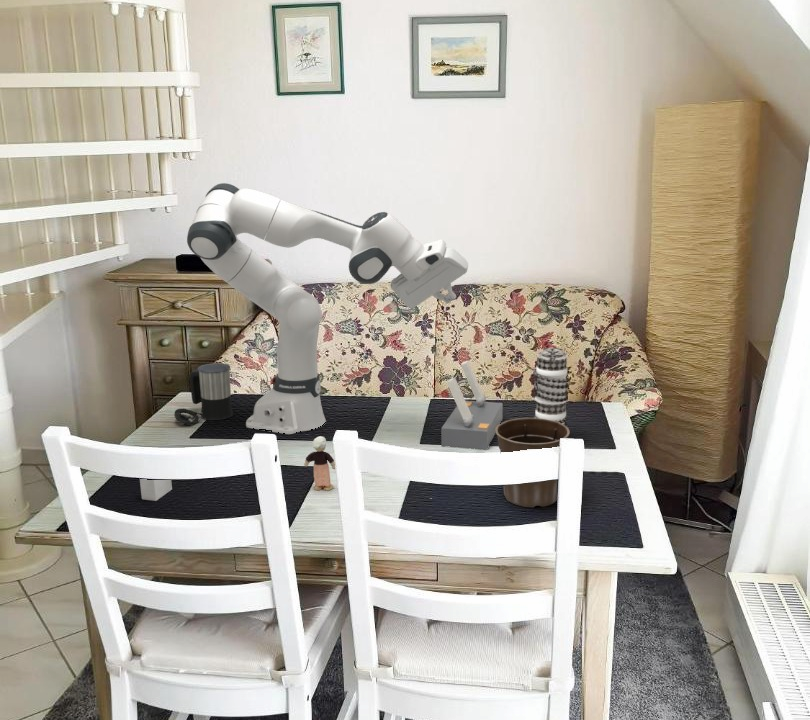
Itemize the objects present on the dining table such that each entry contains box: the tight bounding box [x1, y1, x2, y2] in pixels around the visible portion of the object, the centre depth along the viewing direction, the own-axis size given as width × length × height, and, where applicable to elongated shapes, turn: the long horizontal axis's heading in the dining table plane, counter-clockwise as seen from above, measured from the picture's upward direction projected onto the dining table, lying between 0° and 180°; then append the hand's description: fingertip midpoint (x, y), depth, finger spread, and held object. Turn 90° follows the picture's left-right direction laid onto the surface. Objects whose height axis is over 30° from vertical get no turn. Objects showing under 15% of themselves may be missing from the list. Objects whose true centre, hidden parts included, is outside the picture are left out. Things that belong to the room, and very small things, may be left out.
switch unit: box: [440, 400, 504, 450], centre depth 238 cm, size 12×24×5 cm, turn 164°
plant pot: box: [495, 417, 571, 509], centre depth 195 cm, size 16×16×16 cm
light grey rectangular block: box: [139, 478, 173, 502], centre depth 202 cm, size 4×7×10 cm, turn 162°
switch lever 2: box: [460, 360, 487, 406], centre depth 244 cm, size 2×4×13 cm, turn 164°
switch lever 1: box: [446, 377, 474, 426], centre depth 228 cm, size 2×4×13 cm, turn 164°
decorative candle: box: [532, 347, 571, 427], centre depth 227 cm, size 9×9×25 cm
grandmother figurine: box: [303, 435, 336, 491], centre depth 203 cm, size 8×4×13 cm, turn 89°
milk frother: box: [173, 362, 234, 426], centre depth 252 cm, size 14×16×15 cm
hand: (451, 299), depth 226 cm, fingers closed
